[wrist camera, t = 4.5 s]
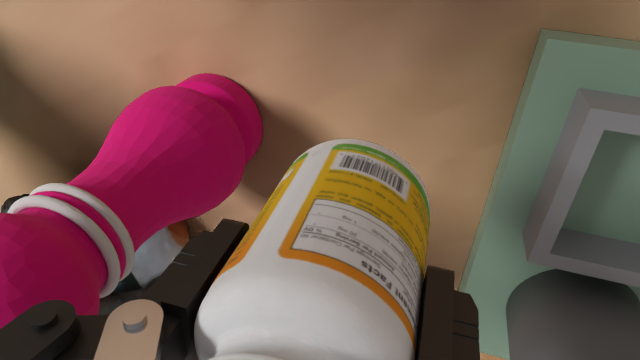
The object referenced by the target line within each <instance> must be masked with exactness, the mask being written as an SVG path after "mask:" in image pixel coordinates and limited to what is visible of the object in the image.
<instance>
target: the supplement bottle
mask: <svg viewBox="0 0 640 360" xmlns="http://www.w3.org/2000/svg"><path fill="white" fill-rule="evenodd" d="M429 225H430V204H429V199H428V194H427V191H426V189H425V186H424V184H423V182H422V180H421V179H420V177H419V175H418V174H417V173H416V171H415V170H414V169H413V168H412V167H411V166H410V165H409V164H408V163H407V162H406V161H405V160H404V159H402V158H401V157H400V156H398V155H397V154H396V153H394V152H392V151H391V150H389V149H387V148H385V147H383V146H381V145H378V144H375V143H372V142H368V141H364V140H359V139H336V140H331V141H327V142H323V143H321V144H318V145H316V146H314V147H312V148H310V149H308V150H307V151H306V152H304V153H303V154H302V155H300V156H299V157H298V158H297V159H296V160H295V161H294V162H293V164H292V165H291V166H290V168H289V169H288V171H287V172H286V173H285V175H284V176H283V178H282V179H281V181H280V182H279V184H278V186H277V187H276V189H275V190H274V192H273V193H272V195H271V196H270V198H269V199H268V201H267V203H266V204H265V206H264V207H263V209H262V210H261V212H260V213H259V215H258V216H257V218H256V219H255V221H254V222H253V224H252V225H251V227H250V229H249V230H248V231H247V233H246V234H245V236H244V237H243V239H242V240H241V242H240V243H239V245H238V246H237V248H236V249H235V251H234V252H233V254H232V255H231V257H230V258H229V260H228V261H227V263H226V264H225V266H224V267H223V269H222V270H221V271H220V273H219V274H218V276H217V277H216V279H215V281H214V282H213V284H212V285H211V287H210V289H209V291H208V293H207V294H206V296H205V298H204V299H203V301H202V303H201V305H200V307H199V310H198V313H197V316H196V320H195V325H194V342H195V349H196V353H197V356H198V359H199V360H415V356H416V347H417V335H418V326H419V316H420V307H421V298H422V288H423V279H424V271H425V262H426V252H427V243H428V234H429Z"/></svg>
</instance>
